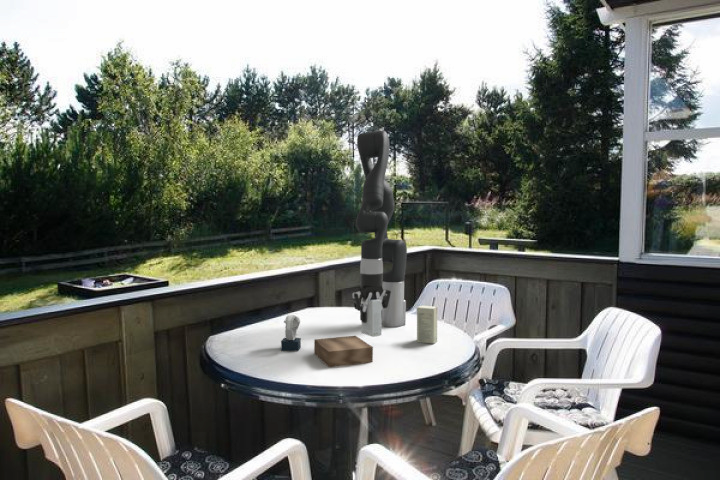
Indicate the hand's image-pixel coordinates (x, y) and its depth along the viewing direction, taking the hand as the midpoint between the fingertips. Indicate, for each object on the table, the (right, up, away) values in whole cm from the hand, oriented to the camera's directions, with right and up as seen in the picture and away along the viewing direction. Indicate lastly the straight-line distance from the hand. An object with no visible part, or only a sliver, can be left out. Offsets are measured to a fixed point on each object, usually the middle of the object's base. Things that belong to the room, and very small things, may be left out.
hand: (371, 321), depth 179 cm
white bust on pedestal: (-26, -8, -6) cm, 28 cm away
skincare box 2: (+19, -8, +5) cm, 22 cm away
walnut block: (-9, -9, -14) cm, 19 cm away
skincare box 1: (0, -5, 0) cm, 5 cm away
